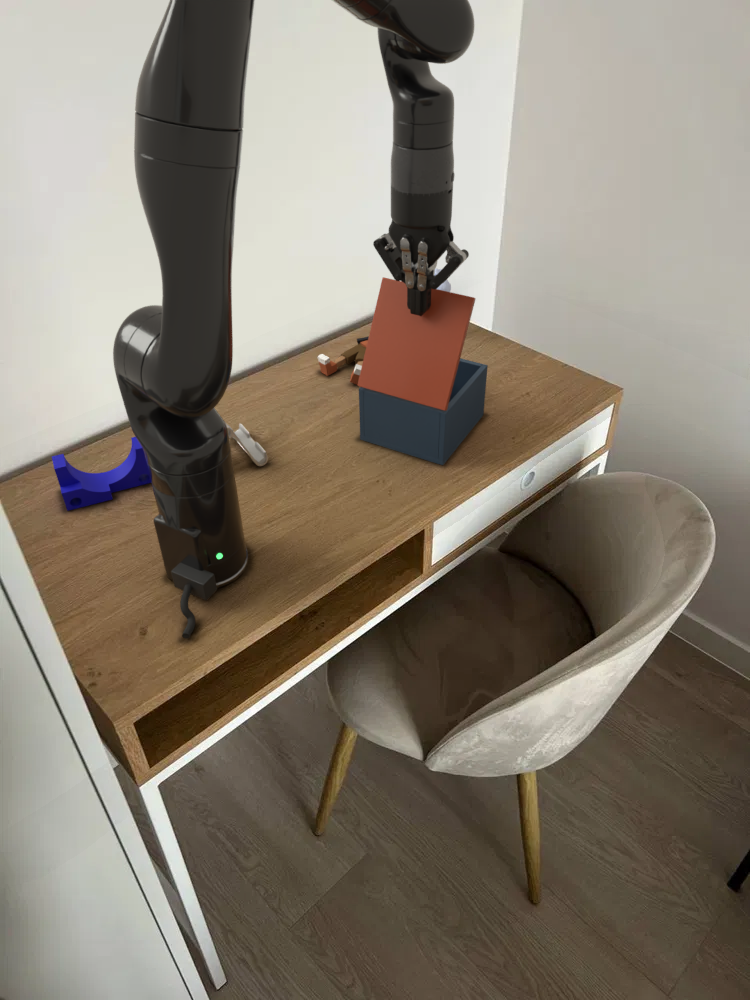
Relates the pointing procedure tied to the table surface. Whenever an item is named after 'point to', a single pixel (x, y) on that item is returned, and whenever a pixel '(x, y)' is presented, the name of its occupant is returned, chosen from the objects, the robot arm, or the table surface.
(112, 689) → the table surface
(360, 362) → the character figurine
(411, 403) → the sorter box
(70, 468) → the blue cradle bracket
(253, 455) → the tablet stand
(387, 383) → the lid
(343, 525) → the table surface
